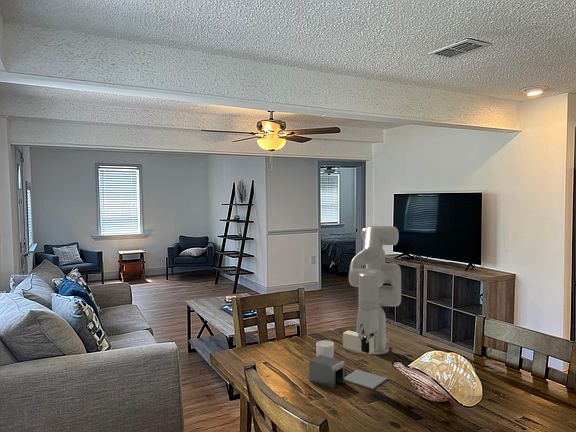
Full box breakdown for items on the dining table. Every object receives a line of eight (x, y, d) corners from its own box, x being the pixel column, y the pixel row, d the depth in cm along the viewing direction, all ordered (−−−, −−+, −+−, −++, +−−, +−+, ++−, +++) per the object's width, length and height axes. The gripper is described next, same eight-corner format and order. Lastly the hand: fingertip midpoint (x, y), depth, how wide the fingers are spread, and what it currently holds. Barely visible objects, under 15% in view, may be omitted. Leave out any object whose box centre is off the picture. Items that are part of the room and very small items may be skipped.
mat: (357, 370, 187) (357, 369, 187) (387, 379, 178) (387, 378, 178) (341, 380, 178) (341, 378, 178) (372, 389, 169) (372, 388, 169)
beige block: (348, 344, 180) (348, 330, 179) (374, 351, 172) (374, 336, 172) (342, 347, 177) (342, 332, 176) (369, 354, 169) (369, 339, 169)
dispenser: (320, 374, 183) (320, 354, 183) (344, 382, 175) (344, 361, 175) (309, 380, 177) (309, 359, 177) (333, 388, 170) (333, 367, 169)
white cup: (333, 369, 188) (333, 347, 188) (314, 368, 190) (314, 345, 189) (334, 363, 196) (334, 341, 195) (317, 361, 197) (317, 340, 197)
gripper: (370, 298, 179) (370, 342, 180) (348, 307, 166) (348, 354, 167) (387, 301, 174) (386, 346, 176) (366, 310, 161) (366, 359, 163)
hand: (368, 349), depth 171 cm, fingers closed on beige block, 4 cm apart
